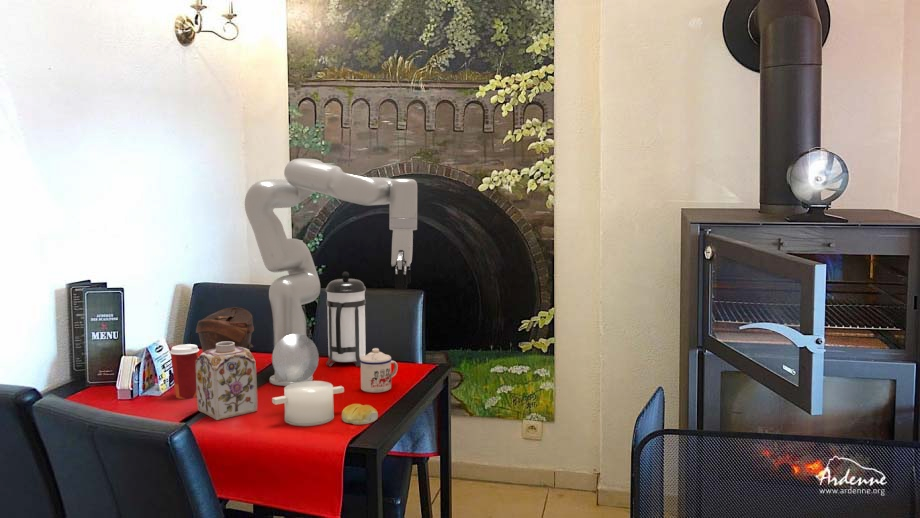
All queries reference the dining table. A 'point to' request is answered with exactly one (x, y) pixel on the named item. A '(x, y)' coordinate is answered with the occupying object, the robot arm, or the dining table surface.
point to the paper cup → (184, 370)
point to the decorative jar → (226, 381)
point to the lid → (295, 358)
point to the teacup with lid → (376, 371)
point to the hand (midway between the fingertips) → (402, 286)
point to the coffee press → (346, 320)
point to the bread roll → (359, 414)
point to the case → (226, 328)
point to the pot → (308, 402)
